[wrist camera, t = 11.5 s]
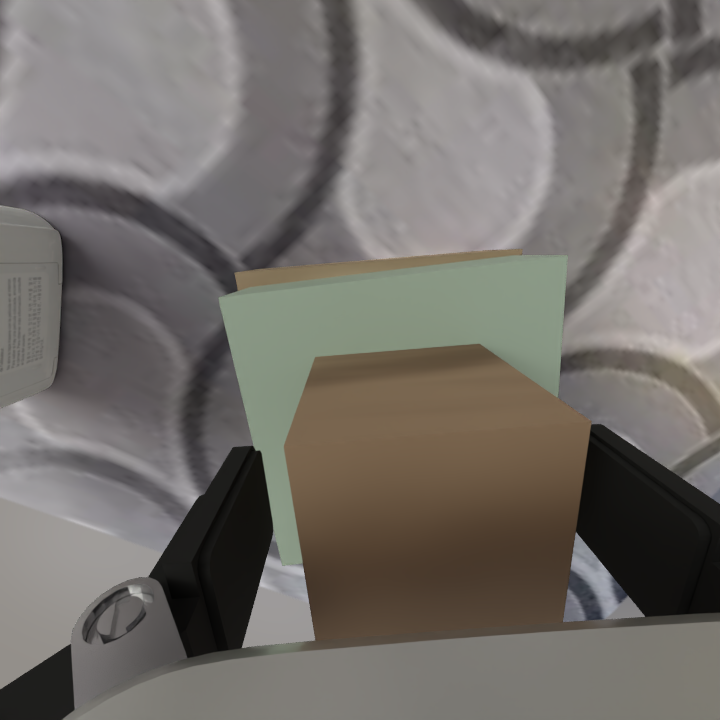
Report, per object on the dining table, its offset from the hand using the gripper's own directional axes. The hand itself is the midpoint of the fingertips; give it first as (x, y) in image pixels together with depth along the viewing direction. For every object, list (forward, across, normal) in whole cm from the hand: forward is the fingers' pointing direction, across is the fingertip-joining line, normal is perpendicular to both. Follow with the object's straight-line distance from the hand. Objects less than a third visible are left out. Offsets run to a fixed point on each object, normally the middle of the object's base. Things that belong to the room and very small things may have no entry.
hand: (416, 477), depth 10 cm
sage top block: (+7, 0, 0) cm, 7 cm away
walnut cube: (+3, 0, 0) cm, 3 cm away
